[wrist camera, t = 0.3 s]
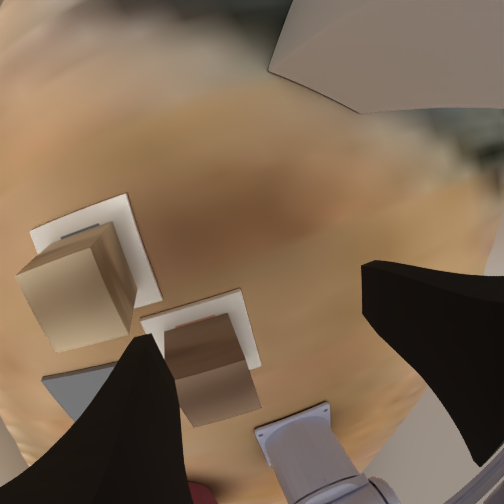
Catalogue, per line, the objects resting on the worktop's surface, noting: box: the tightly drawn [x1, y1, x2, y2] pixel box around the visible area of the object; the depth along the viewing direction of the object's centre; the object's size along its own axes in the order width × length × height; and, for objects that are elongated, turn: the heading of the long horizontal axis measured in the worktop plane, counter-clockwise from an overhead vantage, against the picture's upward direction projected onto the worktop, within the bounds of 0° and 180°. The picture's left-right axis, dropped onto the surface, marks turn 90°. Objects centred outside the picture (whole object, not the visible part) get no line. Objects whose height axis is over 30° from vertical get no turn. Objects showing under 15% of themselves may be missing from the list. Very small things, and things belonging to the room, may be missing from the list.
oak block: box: [15, 221, 138, 353], centre depth 14 cm, size 4×4×5 cm
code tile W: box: [140, 288, 262, 370], centre depth 20 cm, size 7×7×1 cm
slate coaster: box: [41, 362, 117, 422], centre depth 20 cm, size 9×9×1 cm
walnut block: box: [164, 313, 262, 427], centre depth 17 cm, size 4×4×5 cm
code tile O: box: [30, 193, 163, 309], centre depth 16 cm, size 7×7×1 cm
